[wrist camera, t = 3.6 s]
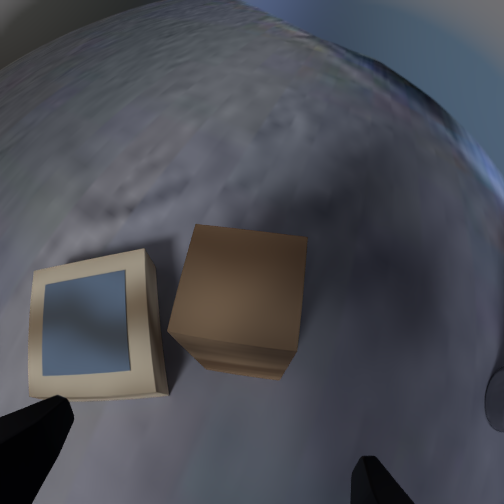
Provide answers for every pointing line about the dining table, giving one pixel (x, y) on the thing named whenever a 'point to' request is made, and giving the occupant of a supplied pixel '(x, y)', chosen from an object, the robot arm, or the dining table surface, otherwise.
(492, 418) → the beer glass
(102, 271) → the birch plinth
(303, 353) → the dining table surface
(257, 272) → the walnut column
